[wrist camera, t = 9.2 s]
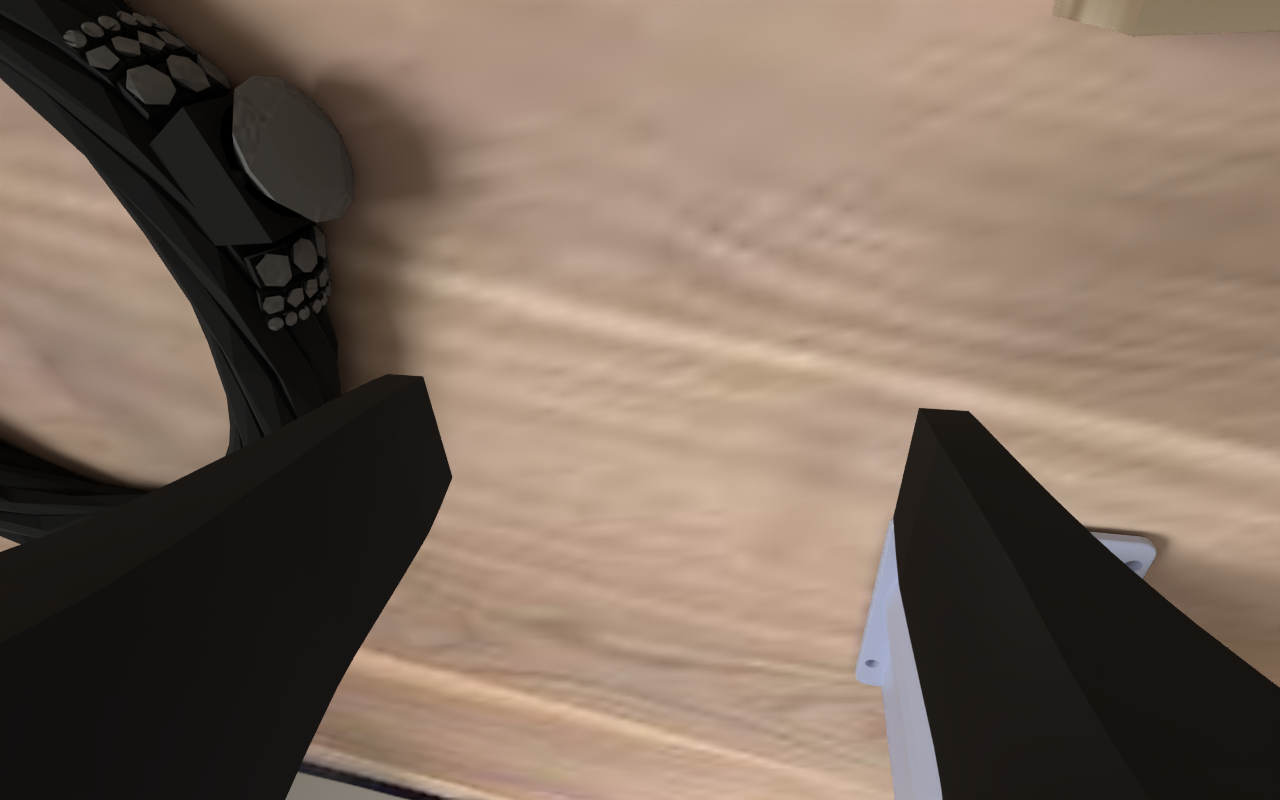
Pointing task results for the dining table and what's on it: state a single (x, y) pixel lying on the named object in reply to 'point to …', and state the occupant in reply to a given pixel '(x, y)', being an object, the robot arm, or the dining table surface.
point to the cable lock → (189, 214)
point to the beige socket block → (1173, 15)
